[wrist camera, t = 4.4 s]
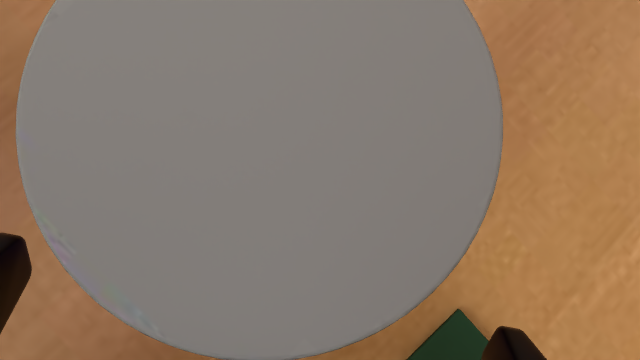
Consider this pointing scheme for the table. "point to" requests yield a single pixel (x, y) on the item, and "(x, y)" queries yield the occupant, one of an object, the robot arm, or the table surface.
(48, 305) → the table surface
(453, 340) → the pointer strip
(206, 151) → the container
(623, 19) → the table surface
